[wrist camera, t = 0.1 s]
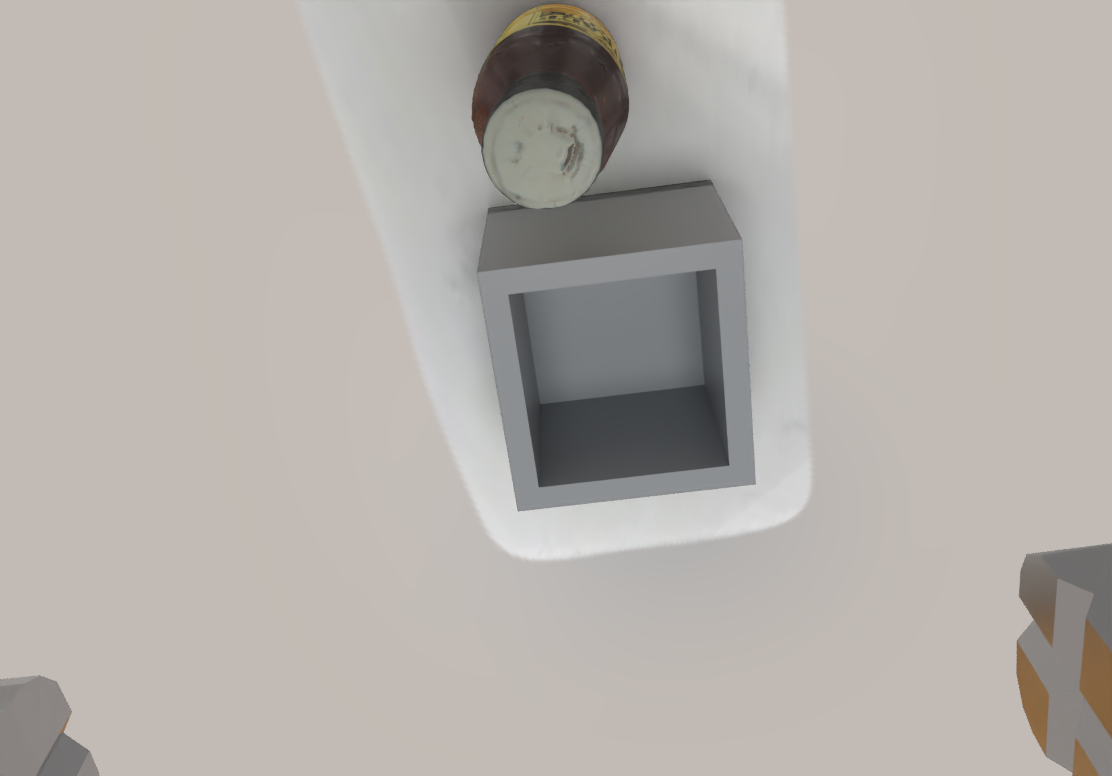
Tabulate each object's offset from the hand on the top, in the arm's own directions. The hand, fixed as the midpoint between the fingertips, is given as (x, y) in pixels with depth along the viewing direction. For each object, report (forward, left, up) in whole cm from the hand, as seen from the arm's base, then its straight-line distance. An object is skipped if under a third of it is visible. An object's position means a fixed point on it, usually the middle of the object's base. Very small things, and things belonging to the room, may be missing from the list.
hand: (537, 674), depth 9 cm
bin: (+15, +1, -47) cm, 50 cm away
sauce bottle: (+2, 0, -47) cm, 47 cm away
